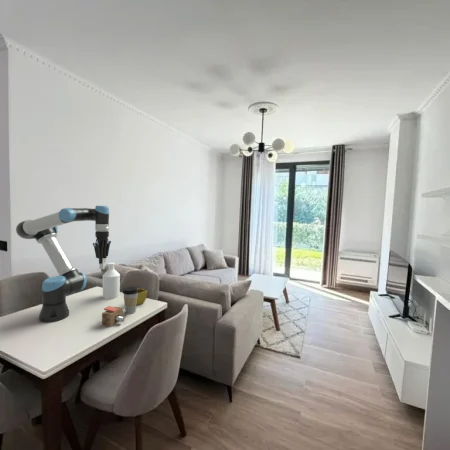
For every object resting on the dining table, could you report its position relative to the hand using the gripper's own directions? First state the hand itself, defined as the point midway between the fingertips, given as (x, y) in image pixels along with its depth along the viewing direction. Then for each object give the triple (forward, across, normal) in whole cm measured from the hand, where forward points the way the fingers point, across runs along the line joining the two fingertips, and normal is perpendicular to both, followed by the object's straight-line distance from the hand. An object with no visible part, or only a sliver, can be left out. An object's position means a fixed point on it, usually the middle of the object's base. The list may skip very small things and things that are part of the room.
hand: (102, 268), depth 159 cm
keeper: (+21, -8, -14) cm, 26 cm away
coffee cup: (+29, +8, -15) cm, 33 cm away
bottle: (+29, +27, +16) cm, 42 cm away
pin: (+28, -8, -16) cm, 33 cm away
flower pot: (+29, +22, -11) cm, 38 cm away
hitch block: (+28, -8, -15) cm, 33 cm away
